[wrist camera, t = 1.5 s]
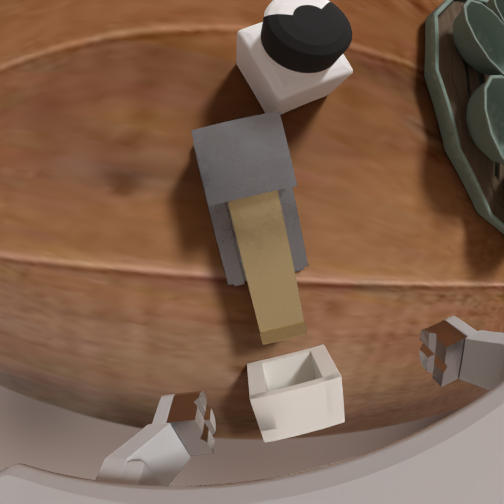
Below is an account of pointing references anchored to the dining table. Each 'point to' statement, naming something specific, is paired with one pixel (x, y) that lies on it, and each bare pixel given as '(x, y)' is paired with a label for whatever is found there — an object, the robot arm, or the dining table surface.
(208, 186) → the sleeve
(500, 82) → the tea set
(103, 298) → the dining table surface
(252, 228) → the olive rectangular bar
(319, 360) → the socket
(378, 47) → the dining table surface
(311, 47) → the medicine bottle
